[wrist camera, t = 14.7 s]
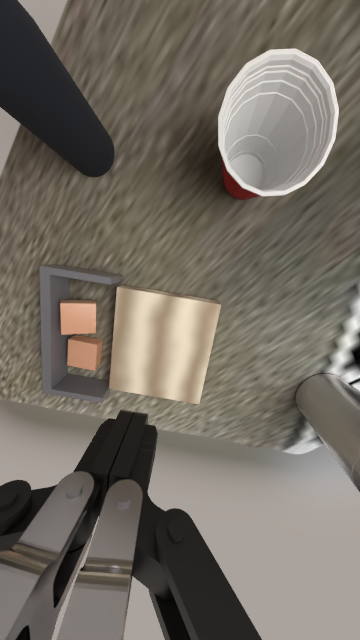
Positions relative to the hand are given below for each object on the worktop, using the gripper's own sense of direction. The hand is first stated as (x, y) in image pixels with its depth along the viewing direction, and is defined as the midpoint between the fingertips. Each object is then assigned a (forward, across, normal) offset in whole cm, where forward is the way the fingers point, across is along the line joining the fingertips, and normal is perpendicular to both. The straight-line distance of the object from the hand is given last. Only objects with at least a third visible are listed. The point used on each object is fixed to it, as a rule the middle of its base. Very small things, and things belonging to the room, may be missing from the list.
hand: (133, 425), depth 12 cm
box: (+25, +15, +5) cm, 29 cm away
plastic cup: (+26, -7, -21) cm, 34 cm away
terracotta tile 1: (+22, +15, +2) cm, 26 cm away
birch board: (+25, +1, +5) cm, 26 cm away
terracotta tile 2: (+23, +15, +9) cm, 29 cm away
